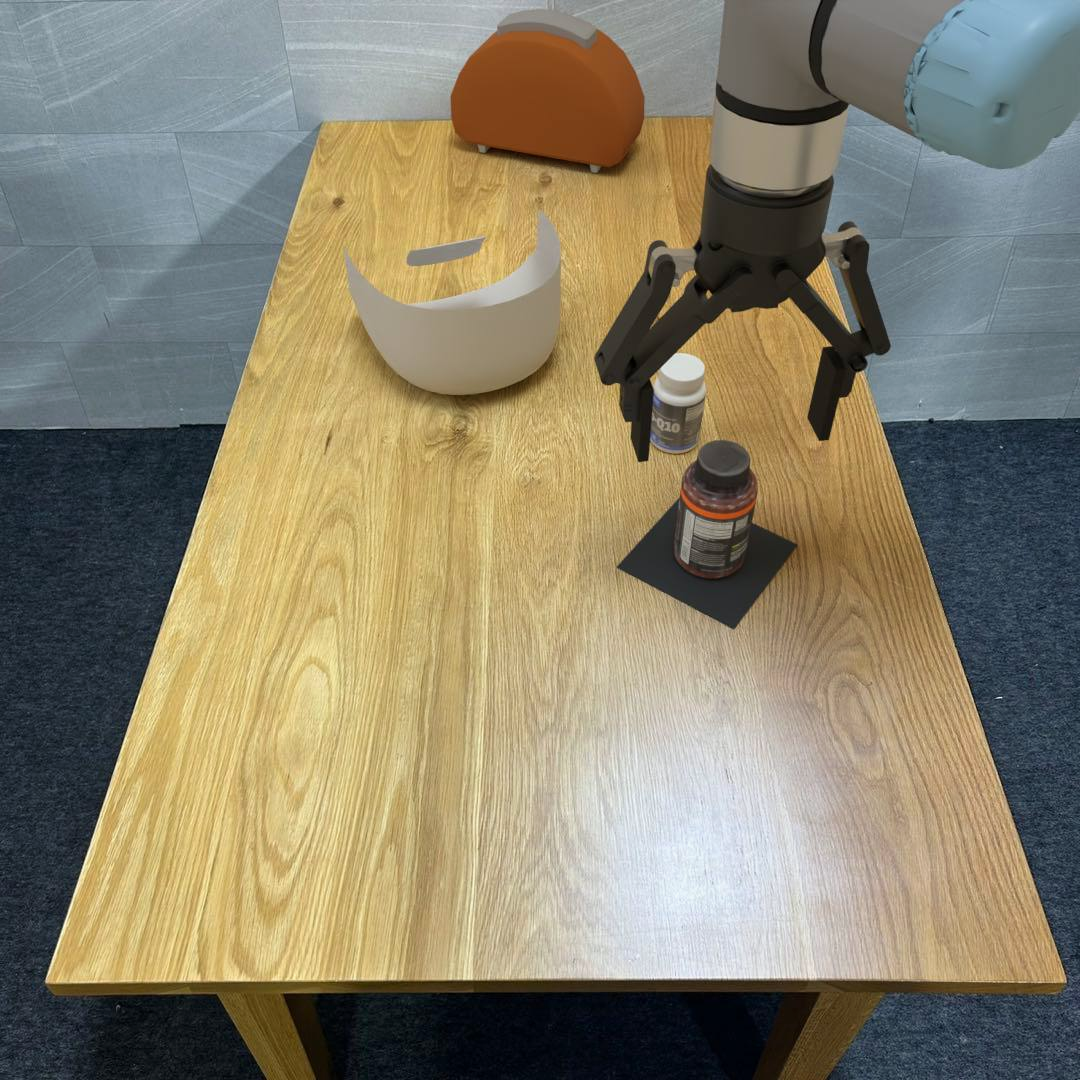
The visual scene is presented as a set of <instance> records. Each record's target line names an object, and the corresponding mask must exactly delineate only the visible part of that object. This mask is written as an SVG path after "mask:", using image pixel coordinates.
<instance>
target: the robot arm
mask: <svg viewBox="0 0 1080 1080" xmlns="http://www.w3.org/2000/svg"><path fill="white" fill-rule="evenodd" d="M723 1H724V2H723V13H722V21H721V32H720V33H721V34H720V41H719V42H720V44H719V51H718V52H719V54H718V63H717V74H716V81H715V92H714V100H713V109H712V110H713V111H712V118H711V129H710V138H709V147H708V160H709V165H708V167H707V169H706V173H705V182H704V191H703V200H702V209H701V218H700V232H699V236H698V238H697V240H696V242H695V243H694V245H693V246H692V248H669V247H668V245H667V243H666V242H665V240H662V239H658V240H657V239H656V240H654V241H652V242H651V243H650V244H649V247H648V249H647V253H646V258H645V265H644V270H643V273H642V274H641V276H640V278H639V279H638V281H637V283H636V284H635V286H634V288H633V290H632V291H631V293H630V295H629V296H628V298H627V300H626V302H625V303H624V304H623V306H622V308H621V310H620V311H619V313H618V315H617V317H616V318H615V320H614V321H613V323H612V325H611V327H610V329H609V330H608V332H607V334H606V335H605V337H604V338H603V340H602V342H601V343H600V345H599V346H598V349H597V351H596V352H595V354H594V356H593V360H594V364H595V366H596V369H597V373H598V377H599V379H600V382H601V384H602V385H603V386H607V387H608V386H613V385H615V384H618V385H619V399H618V406H619V409H620V412H621V415H622V418H623V420H624V422H625V423H630V441H631V444H632V447H633V450H634V453H635V456H636V459H637V462H638V463H644V462H649V457H650V447H651V440H650V435H651V422H652V410H653V397H654V389H653V386H654V385H653V384H652V381H651V379H652V377H653V376H654V375H656V373H657V372H659V369H660V368H661V367H662V366H663V365H664V364H665V363H666V362H667V361H668V360H669V359H670V358H671V357H672V356H673V355H674V354H675V353H678V352H679V350H681V349H682V347H683V346H685V344H687V342H688V341H689V340H691V338H692V337H693V336H694V335H696V333H697V332H698V331H699V330H701V328H702V327H704V325H706V324H708V325H710V324H713V323H714V322H715V321H717V319H718V318H719V317H720V316H721V315H722V314H723V313H724V312H725V311H726V310H727V309H728V310H730V312H731V313H740V312H741V313H742V312H745V311H749V310H752V309H754V308H757V309H764V310H769V309H770V310H771V309H779V305H780V304H782V303H784V302H786V301H787V300H788V299H790V301H792V303H794V305H795V306H796V307H797V309H799V311H800V312H801V313H802V314H803V315H805V316H806V317H807V319H808V320H809V321H810V322H811V323H812V325H813V326H814V327H815V328H816V330H818V331H819V333H820V334H821V335H822V336H823V337H824V338H825V339H826V341H827V342H828V343H829V344H830V345H829V346H823V347H822V348H821V354H820V359H819V363H818V368H817V372H816V376H815V380H814V385H813V390H812V394H811V399H810V403H809V408H808V413H807V416H806V417H807V420H808V422H809V424H810V426H811V428H812V430H813V432H814V434H815V436H816V438H817V440H818V442H824V441H830V438H831V434H832V429H833V426H834V421H835V418H836V413H837V409H838V405H839V401H840V399H841V398H842V399H843V398H848V397H849V395H850V394H851V393H852V391H853V387H854V386H853V385H854V382H855V379H856V374H858V373H861V372H863V371H864V370H866V368H867V367H868V364H869V362H868V360H867V358H866V357H867V356H868V357H869V356H870V355H873V354H874V355H876V356H884V355H886V354H887V353H888V352H889V351H890V350H891V348H892V345H891V341H890V338H889V335H888V332H887V328H886V325H885V323H884V320H883V317H882V313H881V310H880V307H879V304H878V300H877V298H876V295H875V291H874V288H873V286H872V285H873V284H872V283H871V278H870V276H869V273H868V263H869V257H870V248H871V247H870V243H869V242H868V240H867V239H866V238H865V235H864V234H862V232H861V231H860V229H859V228H858V226H857V225H856V223H855V222H853V221H849V220H848V221H845V222H843V223H842V224H840V226H839V227H838V229H837V232H833V233H828V234H824V232H825V229H826V225H827V220H828V215H829V210H830V205H831V200H832V194H833V189H834V185H835V178H834V176H833V175H834V173H836V172H837V171H838V165H839V162H840V156H841V150H842V147H843V146H842V145H843V141H844V135H845V131H846V127H847V126H846V125H847V120H848V116H849V110H850V106H853V107H854V108H857V109H858V110H860V111H862V112H864V113H866V114H868V115H870V116H872V117H874V118H876V119H878V120H880V121H882V122H883V123H885V124H888V125H889V126H891V127H893V128H896V129H897V130H899V131H901V132H903V133H905V134H907V135H910V136H911V137H913V138H915V139H917V140H919V141H921V142H922V143H923V145H925V146H926V147H929V148H931V149H932V150H934V151H936V152H938V153H941V152H944V153H945V154H947V155H950V156H957V157H961V158H964V159H966V160H969V161H970V162H974V163H975V164H976V163H977V164H978V165H981V166H983V167H986V168H989V169H994V170H1008V169H1009V170H1010V169H1015V168H1018V167H1021V166H1024V165H1026V164H1028V163H1030V162H1031V161H1034V160H1035V159H1037V158H1039V157H1040V156H1041V155H1042V154H1043V153H1045V151H1046V150H1047V148H1048V146H1049V145H1050V143H1051V141H1052V140H1053V139H1058V138H1060V137H1061V136H1062V135H1064V133H1065V132H1066V131H1067V130H1068V129H1069V128H1070V126H1071V125H1072V124H1073V122H1074V121H1075V120H1076V118H1077V117H1078V115H1079V114H1080V0H723ZM826 257H827V258H829V260H830V261H831V263H832V264H833V266H834V267H836V268H838V270H839V272H840V274H841V277H842V281H843V283H844V286H845V288H846V292H847V295H848V299H849V301H850V303H851V307H852V310H853V311H854V312H853V313H854V315H855V318H856V321H857V324H858V327H859V330H857V331H853V332H852V333H851V332H850V331H849V330H848V328H847V327H846V326H845V324H844V323H843V322H842V321H841V320H840V319H839V317H838V316H837V315H836V314H835V312H834V311H833V310H832V308H830V306H829V305H828V304H827V303H826V301H825V300H824V299H823V298H822V296H821V295H820V294H819V293H818V292H817V291H816V290H815V288H814V287H813V286H812V285H811V283H809V281H808V280H807V279H808V278H809V277H810V276H811V275H812V274H813V273H814V272H815V270H816V269H818V267H819V266H820V265H821V264H822V263H823V261H824V260H825V258H826ZM690 271H694V272H695V275H694V276H693V277H692V278H691V280H689V282H687V284H686V285H685V287H684V290H683V293H682V295H681V296H680V297H679V298H678V299H677V300H676V301H675V302H674V303H673V304H672V305H671V306H670V307H669V308H668V309H667V310H666V312H664V314H663V315H662V316H660V317H659V319H658V320H657V321H656V319H657V318H658V316H659V315H660V313H661V311H662V310H663V308H664V306H665V305H666V303H667V301H668V299H669V297H670V295H671V292H672V288H677V287H679V286H680V285H681V281H682V279H683V277H684V275H685V274H687V273H688V272H690ZM708 292H709V293H710V294H711V295H710V296H709V298H708V296H707V293H708ZM655 321H656V322H655ZM654 322H655V323H654Z"/></svg>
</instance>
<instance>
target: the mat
mask: <svg viewBox="0 0 1080 1080" xmlns="http://www.w3.org/2000/svg"><path fill="white" fill-rule="evenodd" d="M679 498H680V496H679V497H678V498H677V500H676V501H674V502H673V504H672V505H671V506H670V507H669V508H668V510H666V512H665V513H664V514H663V515H661V517H660V518H659V519H658V521H656V522H655V524H654V525H653V526H652V527H651V528H650V529H649V530H648V532H647V533H646V534H645V535H644V536H643V537H642V538H640V540H639V541H638V543H637V544H635V545H634V547H633V548H632V549H631V550H630V551H629V553H628V554H627V555H626V556H625V557H624V558H623V559H622V560H621V561H620V563H619V564H618V565H616V568H617V569H619V570H620V571H623V572H625V573H626V574H628V575H630V576H632V577H634V578H636V579H638V580H639V581H641V582H644V583H645V584H647V585H649V586H651V587H653V588H654V589H656V590H659V591H661V592H662V593H664V594H667V595H668V596H670V597H672V598H674V599H676V600H677V601H680V603H681V602H682V603H684V604H685V605H687V606H689V607H691V608H693V609H694V610H696V611H699V612H701V613H703V614H704V615H706V616H707V617H710V618H712V619H713V620H716V621H717V622H719V623H720V624H723V625H724V626H727V627H728V628H731V629H732V630H734V629H736V627H737V626H738V624H739V623H740V621H742V618H743V617H745V616H746V614H747V612H748V611H749V610H750V609H751V607H752V606H753V604H754V603H755V602H756V600H757V599H758V598H759V597H760V595H761V594H762V593H763V592H764V590H765V589H766V587H768V585H769V583H771V581H772V580H773V578H774V577H775V576H776V574H777V573H778V572H779V571H780V569H781V568H782V566H783V565H784V564H785V563H786V561H787V560H788V559H789V557H790V556H791V555H792V554H793V552H794V551H795V549H796V548H797V547H798V545H799V544H798V543H796V542H794V541H791V540H790V539H788V538H786V537H783V536H781V535H779V534H777V533H775V532H773V531H771V530H769V529H766V528H765V527H762V526H760V525H758V524H756V523H754V522H752V525H751V530H750V535H749V540H748V545H747V550H746V555H745V558H744V561H743V563H742V565H741V566H740V568H739V569H738V570H737V571H735V572H734V573H732V574H731V575H729V576H726V577H723V578H718V579H708V578H701V577H698V576H695V575H693V574H691V573H689V572H688V571H686V570H685V569H684V568H683V567H682V566H681V565H680V564H679V563H678V561H677V560H676V556H675V552H674V541H675V533H676V524H677V517H678V508H679Z"/></svg>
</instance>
